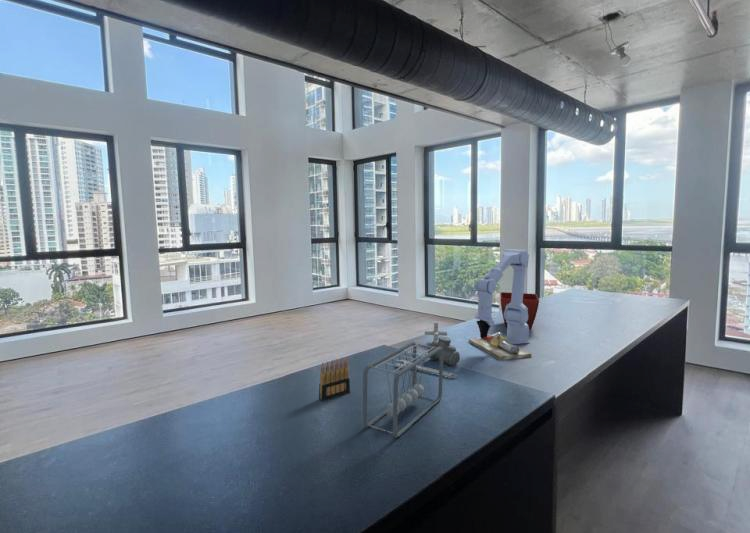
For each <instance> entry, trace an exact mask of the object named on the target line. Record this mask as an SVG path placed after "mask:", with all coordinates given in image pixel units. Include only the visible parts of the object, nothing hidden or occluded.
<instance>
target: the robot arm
mask: <svg viewBox="0 0 750 533" xmlns="http://www.w3.org/2000/svg"><path fill="white" fill-rule="evenodd" d="M529 256H530V255H529V253H528V250H526V249H514V248H513V249H512V248H505V249H504V251H503V252H502V256H501V259H500V261H499V262H498V264H497V265H496V267H491V268H490V270H489V271H488V272H487V273H486V274H485V275H484V277H483V278H479V279H478V280H477V282H476V285H475V289H476V292H477V293H476V295H477V296H478V297H477V298H478V302H477V312H475V314H474V315H475V316H474V318H475V320H476V324H477V326H478V328H479V336H480V335H481V337H480V338H483V337H484V336H487V334H489V330H490V328H491V327H492V326H495V320H494V319H493V316H492V315H493V314H492V312H493V310H492V309H493V293H494V292H495V291H496V287H497V285H498V283H499V281H500V280H501V279H502V278H503V275H504V273H503V272H504V271H506V269H508V268H509V267H511V268H512V269H513V276H512V285H511V286H512V287H511V293H512V296H511V303H509V304H508V305H506V309H505V312H504V319H505V320H506V322H507V323H508V324H507V328H506V329H507V330H506V338H507V342H509V343H511V344H513V345H518V344H530V341H529V339H530V329H529V327H528V325H527V324H526V322H527V321H528V308H527V307H526V306H525V305H524V304H523V303H522V302H523V293H525V292H524V291H525V279H526V269H527V268H528V267H529V258H530V257H529ZM512 308H513V309H512ZM517 309H519V310H517ZM504 319H503V320H504Z"/></svg>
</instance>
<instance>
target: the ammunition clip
mask: <svg viewBox="0 0 750 533" xmlns="http://www.w3.org/2000/svg"><path fill="white" fill-rule="evenodd" d="M349 375H350V371H349V361H348V357H346V356H345V359H344V360H343V358H340V361H339V360H338V359H336V360H335V364H334V361H333V360H332V359H331V361H330V362H329V361H326V364H324V362H322V363H321V365H320V376H319V377H320V378H319V379H320V380H319V388H318V399H319V401H321V402H324V401H327V400H331V399H335V398H338V397H341V396H343V395H348V394H350V393H351V387H350V382H351V381H350V376H349Z"/></svg>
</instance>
